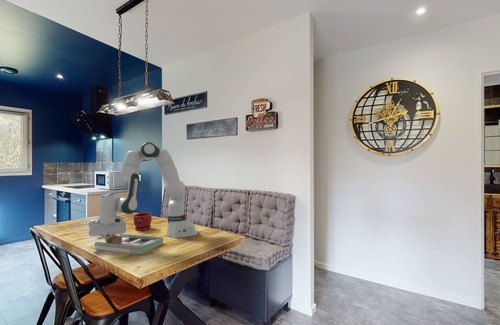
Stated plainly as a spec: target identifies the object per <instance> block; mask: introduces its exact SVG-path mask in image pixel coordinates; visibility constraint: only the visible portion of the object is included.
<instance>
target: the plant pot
mask: <svg viewBox="0 0 500 325" xmlns="http://www.w3.org/2000/svg"><path fill="white" fill-rule="evenodd" d="M133 222H134V223H133V224H134V226H135V227H134V228H135V230H136V231H147V230H149V229H150V228H151V227H152V225H151V223H152V213H151V212H139V213H135V214H134V215H133Z"/></svg>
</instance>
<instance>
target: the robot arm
mask: <svg viewBox="0 0 500 325" xmlns="http://www.w3.org/2000/svg"><path fill="white" fill-rule="evenodd" d="M152 160H154V161H155V162H156V165H157V167H158V170H159V171H160V173H161V176H162V180H163V184H164V187H165V192H166V194H167V195H168V196H169V199H168V203H167V204H168V208H167V209H168V211H167V212H168V215H167V229H166V234H165V236H166V237H168V238H169V237H171V238H173V239H177V238H178V239H179V238H184V237H193V236H197V235H198V234H199V231H198V230H197V229H196V227H195V224H194V223H193V222H192V221H190V220H189V219H188V215H187V214H185V199H186V198H185V196H186V185H185V183H184V182H183V181H181V180H180V177H179V173H178V170H177V167H176V165H175V161H174V160H173V158H172V156H171V154H170V153H169V151H168V150H167V149H166V148H165V149H164V148H163V149H160V147H158V146H157V145H156V144H154V143H152V142H149V141H147V142H144V143H142V144H141V145H140V148H139V150H132V149H131V150H129V151H127V152H126V154H125V155H124V158H123V162H122V164H121V167H120V174H121V176H122V178H124V179H125V180H126V181H127V182H128V188H127V195H126V197H124V196H120V195H117V194H116V193H113V192H109V193H104V194H102V195H101V197H100V199H99V210H100V213H99V214H100V220H96V219H95V220H91V221H90V222H88V228H89V230H88V236H89V237H98V236H101V235H103V236H102V237H103V239H104V240H105V241H104V242H106V239H107V238H108V237H107V236H109V237H113V236H114V235H119V234H121V233H122V234H126V232H127V227H126V226H127V225H126V221H125V217H124V216H119V215H117V213H123V214H126V215H131V214H134V213H135V212H136V211H137V210H138V208H139V200H138V199H139V190H140V179H141V178H140V175H139V174H140V168H141V163H142V162H150V161H152Z"/></svg>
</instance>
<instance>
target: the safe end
mask: <svg viewBox="0 0 500 325" xmlns="http://www.w3.org/2000/svg"><path fill="white" fill-rule="evenodd" d="M162 244H164V239H163V240H162V238H160V239H158V240H150V241H148V242H145V243H143V244H141V245H139V246H141V247H142V251H139V250H130V253H129V254H137V255H142V254H143V255H144V254H145V253H146V252H149V251H150V250H153V249H155V248H156V247H159V246H162Z"/></svg>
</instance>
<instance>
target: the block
mask: <svg viewBox="0 0 500 325" xmlns="http://www.w3.org/2000/svg"><path fill="white" fill-rule="evenodd" d="M106 238H107V239H106V243H112V244H121V243H122V237H120V236H118V235H113V236H112V237H111V236H109V237H106Z"/></svg>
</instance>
